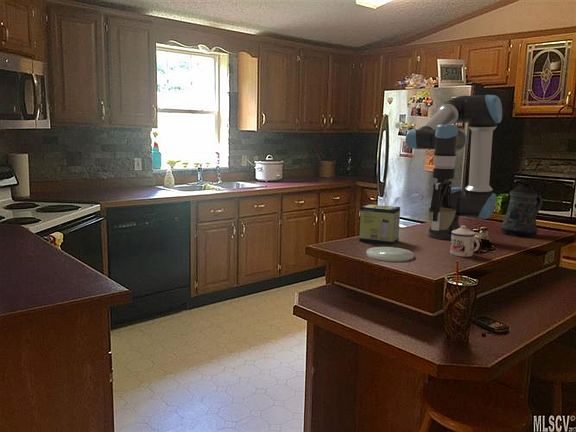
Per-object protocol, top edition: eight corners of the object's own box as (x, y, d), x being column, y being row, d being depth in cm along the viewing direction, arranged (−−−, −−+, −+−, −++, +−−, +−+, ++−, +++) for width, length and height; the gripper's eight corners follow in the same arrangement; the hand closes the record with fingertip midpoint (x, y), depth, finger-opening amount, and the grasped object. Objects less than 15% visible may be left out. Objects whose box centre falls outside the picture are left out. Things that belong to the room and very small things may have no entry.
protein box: (365, 237, 232) (367, 203, 229) (398, 241, 225) (401, 206, 222) (358, 241, 222) (359, 206, 220) (393, 245, 216) (395, 209, 213)
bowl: (456, 232, 180) (457, 212, 179) (427, 230, 182) (428, 210, 181) (452, 226, 190) (454, 208, 189) (425, 225, 192) (426, 206, 191)
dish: (378, 248, 209) (378, 244, 209) (420, 255, 199) (420, 251, 199) (358, 256, 194) (358, 252, 194) (402, 264, 184) (403, 260, 184)
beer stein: (495, 234, 247) (500, 183, 243) (508, 229, 262) (513, 181, 258) (531, 239, 237) (537, 186, 232) (542, 233, 251) (548, 183, 247)
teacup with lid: (444, 253, 203) (447, 225, 201) (458, 250, 208) (460, 223, 207) (470, 259, 194) (473, 230, 192) (484, 256, 199) (487, 228, 197)
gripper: (443, 165, 194) (439, 222, 198) (423, 168, 175) (419, 231, 179) (463, 166, 190) (458, 224, 193) (444, 170, 171) (440, 233, 175)
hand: (439, 227), depth 186 cm, fingers closed on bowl, 10 cm apart
